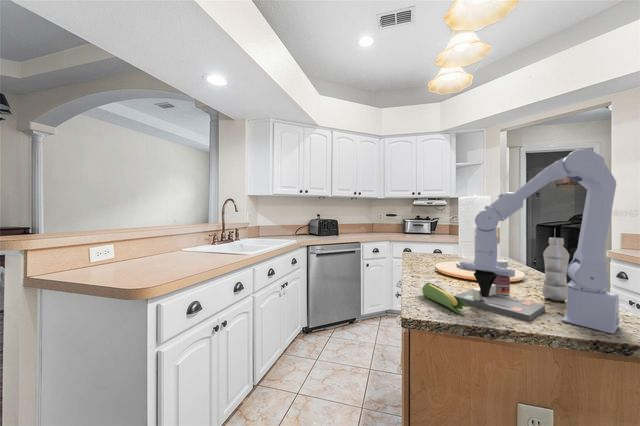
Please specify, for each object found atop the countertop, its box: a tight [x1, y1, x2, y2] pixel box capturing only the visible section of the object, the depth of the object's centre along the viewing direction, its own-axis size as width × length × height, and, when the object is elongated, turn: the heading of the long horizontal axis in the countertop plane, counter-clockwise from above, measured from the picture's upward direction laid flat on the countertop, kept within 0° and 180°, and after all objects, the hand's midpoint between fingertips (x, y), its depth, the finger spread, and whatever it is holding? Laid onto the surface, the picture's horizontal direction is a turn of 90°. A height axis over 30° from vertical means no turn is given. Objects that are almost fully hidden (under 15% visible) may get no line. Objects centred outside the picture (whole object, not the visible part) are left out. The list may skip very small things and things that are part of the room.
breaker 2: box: [489, 284, 496, 296], centre depth 89 cm, size 2×4×3 cm, turn 127°
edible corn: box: [421, 282, 469, 316], centre depth 85 cm, size 5×20×5 cm, turn 9°
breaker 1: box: [472, 287, 484, 301], centre depth 85 cm, size 2×4×3 cm, turn 127°
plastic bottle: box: [541, 237, 570, 302], centre depth 90 cm, size 6×7×20 cm
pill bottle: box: [493, 258, 511, 296], centre depth 97 cm, size 6×6×11 cm
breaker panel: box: [454, 288, 546, 322], centre depth 84 cm, size 20×13×2 cm, turn 37°
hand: (485, 296), depth 83 cm, fingers closed
